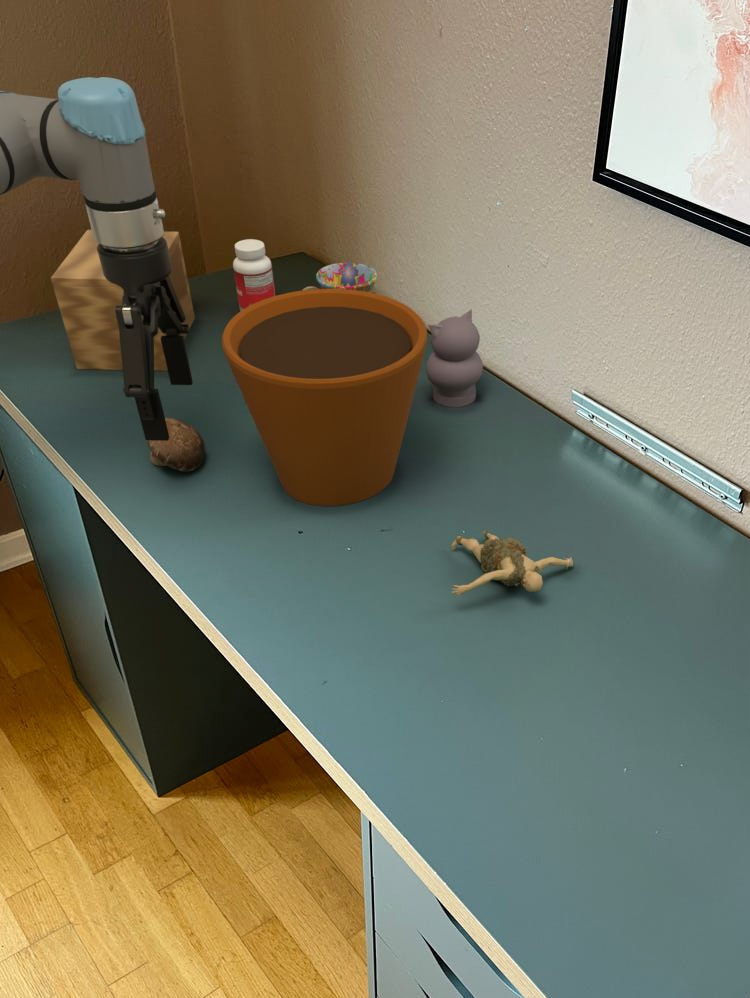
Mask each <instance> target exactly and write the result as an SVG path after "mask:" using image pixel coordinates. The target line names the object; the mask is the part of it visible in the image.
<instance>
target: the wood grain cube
mask: <svg viewBox="0 0 750 998" xmlns="http://www.w3.org/2000/svg"><path fill="white" fill-rule="evenodd" d="M162 237H163V238H164V239H165V240H166V241H167V246H168V251H169V256H170V261H171V265H172V270H171V273H170V274H169V278H170V280H171V283H172V285H173V288H174V290H175V292H176V295H177V297H178V300H179V302H180V305H181V307H182V309H183V312H184V315H185V318H186V319H185V322H184V323H182V324H188V326H189V330H190V329H191V327H192V325H193V323H194V321H195V319H196V316H195V311H194V305H193V300H192V296H191V289H190V284H189V280H188V273H187V268H186V264H185V263H186V262H185V258H184V252H183V247H182V242H181V237H180V233H179V231H165V230H164V234H163V235H162ZM98 245H99V243H97V242H96V241H95V240H94V238H93V233H92V229H87V230H86V231H85V232H84V234H83V235H82V236H81V238H80V239H79V240H78V242H77V243H76V244H75V245H74V247H73V248H72V249H71V251H70V252H69V253H68V254H67V256H66V257H65V258H64V260H63V261H62V262H61V264H60V265H59V266H58V268H57V269H56V270H55V272H54V273H53V274H52V275H51V276H50V280H51V284H52V287H53V291H54V294H55V295H54V296H55V298H56V302H57V305H58V309H59V312H60V316H61V318H62V323H63V325H64V329H65V332H66V336H67V339H68V343H69V346H70V351H71V354H72V356H73V360H74V364H75V367H76V370H103V371H105V370H106V371H111V370H112V371H123V367H122V357H121V346H120V336H119V327H118V322H117V317H116V313H115V307H116V305H122V297H123V289H122V288H121V287H120V286H118V285H116V284H113V283H111V282H109V281H108V280H107V279H106V278H105V276H104V274H103V270H102V266H101V263H100V259H99V255H98V251H97V246H98ZM174 313H176V312H174ZM180 335H181V336H183V337H184V341H186V339H187V336H188V334H180ZM161 336H167V335H166V334H163V333H162V331H161V330H160V329H159V327H158V334H157V335H155V336H154V372H155V371H157V372H168V369H167V365H166V360H165V356H164V352H163V347H162V343H161Z"/></svg>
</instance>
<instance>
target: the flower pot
mask: <svg viewBox="0 0 750 998" xmlns="http://www.w3.org/2000/svg"><path fill="white" fill-rule="evenodd" d="M302 290H303V289H302ZM302 290H298V291H297V290H296V291H290V292H286V293H281V294H278V295H275V296H274V297H270V298H267V299H264V300H262V301H259V302H257V303H254V304H252V305H250V306H249V307H247V308H245V309H243V310H242V311H240V310H239V312H238V313H236V314H235V315H234V316H233V317H232V318H231V319H230V320H229V321H228V323H227V324H226V326H225V327H224V329H223V332H222V336H221V345H222V351H223V353H224V356H225V358H226V361H227V363H228V365H229V368H230V369H231V372H232V374H233V376H234V379H235V381H236V384H237V386H238V388H239V390H240V392H241V395H242V397H243V399H244V402H245V404H246V406H247V409H248V411H249V413H250V415H251V418H252V420H253V421H254V424H255V427H256V429H257V432H258V434H259V436H260V438H261V440H262V442H263V445H264V447H265V449H266V452H267V454H268V457H269V459H270V461H271V464H272V466H273V467H274V470H275V473H276V475H277V477H278V479H279V481H280V484H281V486H282V488H283V490H284V491H285V493H286V495H288V496H290V497H291V498H292V499H294V500H296V501H298V502H301V503H304V504H307V505H313V506H319V507H337V506H338V507H340V506H346V505H351V504H355V503H359V502H362V501H365V500H367V499H370V498H372V497H373V496H376V495H377V494H379V493H380V492H382V491H383V490H385V489H386V488H387V487H388V485H389V484H390V483H391V482H392V480H393V478H394V474H395V471H396V470H395V469H396V467H397V462H398V458H399V456H400V455H399V454H400V451H401V447H402V443H403V438H404V434H405V431H406V427H407V423H408V419H409V415H410V411H411V408H412V403H413V399H414V395H415V391H416V387H417V384H418V379H419V375H420V372H421V367H422V363H423V360H424V355H425V351H426V347H427V343H428V331H427V326H426V325H425V322H424V321H423V319H422V318H421V317H420V315H419V314H418V313H417V312H416V311H414V310H413V309H412V308H411V307H410V306H408V305H406V304H405V303H402V302H401V301H399V300H397V299H394V298H391V297H388V296H386V295H382V294H378V293H373V292H372V293H370V292H364V291H357V290H348V289H321V288H319V289H313V290H303V291H302Z"/></svg>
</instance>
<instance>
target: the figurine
mask: <svg viewBox="0 0 750 998" xmlns="http://www.w3.org/2000/svg"><path fill="white" fill-rule="evenodd" d="M482 533H483V536H484V538H485V539H486V540H485V541H484V542H483V543H482V544H481V543H479V541H478V540H477V539H476V538H468V539H467V538H465V536H460V535H458V536H456V538H455V539H454V540H453V542H452V543H451V546H450V547H451V549H452V550H455V549H456V548H457V546H464V547H465V549H467V550H468V551H469V552H472V553H473V554H474V556H475V557H476V559H477V561H478V562H479V563H480V568H481V571H483V572H484V574H482V575H480V576H479V577H478V578H477V579H474V580H473V581H472V582H470V583H468V584H462V585H456V584H454V585H453V587H454V588H451V590H452V591H451V593H452V594H453V596H460V595H461V596H462V595H464V594H466V593H468V592H470V591H471V590H473V589H476V588H478V587H481V586H484V585H486V584H488V583H489V582H490V581H499V582H500V583H502V584H503V585H506V586H507V587H509V586H516V587H518V585H521V587H523V588H525V590H526V591H527V592H529V593H532V592H538V591H540V590H541V589H542V588H543V584H544V580H543V576H542V575H541V574H539V573H540V572H541V571H543V570H544V569H546V568H547V567H548V566H552V567H563V566H564V568H565V570H566V571H567V570H568V568H569V567H574V562H573V560H574V559H573V558H572V556H570V557H569V558H566V557H565V558H564V559H561V558H558V557H553V556H549V557H546V558H542V559H538V560H537V561H534V560H533V559H531V558H529V557H528V555H527V554H528V553H527V550H528V547H526V546H524V545H523V542H522V541H521V540H518V539H517V538H516V539H515V538H512V537H508V538H505V539H500V538H499V537H498V536H497V535H494V534H492V533H491V531H490V530H484V531H483V532H482Z"/></svg>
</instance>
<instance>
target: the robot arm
mask: <svg viewBox="0 0 750 998" xmlns="http://www.w3.org/2000/svg"><path fill="white" fill-rule="evenodd" d="M57 97H58V99H57V98H49V97H44V96H43V97H41V96H34V95H26V94H19V93H15V92H13V91H11V92H10V91H7V90H0V196H2V195H5V194H7V193H9V192H10V191H12V190H14V189H16V188H18V187H21V186H22V185H24V184H26V183H28V182H30V181H32V180H34V179H36V178H41V177H42V178H43V177H45V178H54V179H59V180H61V179H62V180H69V181H78V182H79V186H80V189H81V193H82V196H83V199H84V205H85V210H86V212H87V217H88V221H89V226H90V230H92V233H93V238H94V240H95V241H96V242H97V243H99V245H98V246H97V251H98V255H99V259H100V263H101V266H102V270H103V274H104V276H105V278H106V279H107V280H108V281H109V282H111V283H113V284H116V285H118V286H120V287H121V288H122V289H123V297H122V305H116V307H115V313H116V317H117V322H118V327H119V336H120V346H121V357H122V367H123V370H122V376H123V393H124V395H125V397H126V398H134V402H135V405H136V408H137V412H138V416H139V421H140V424H141V428H142V433H143V436H144V440H145V441H147V440H154V441H168V440H169V433H168V429H167V425H166V421H165V418H166V417H165V412H164V409H163V404H162V399H161V396H160V391H159V388H156V387H155V371H154V336H155V335H157V334H158V327H159V329H160V330H161V331H162V333H163V334H166V335H167V336H161V343H162V347H163V352H164V356H165V360H166V365H167V369H168V371H167V373H168V379H169V382H170V386H192V385H193V384H194V381H193V377H192V371H191V367H190V366H191V365H190V363H189V357H188V352H187V348H186V342H185V340H184V337H183V336H181V335H180V334H187V335H189V334H190V329H189V326H188V324H182V323H184V322H185V319H186V318H185V315H184V312H183V309H182V307H181V305H180V302H179V300H178V297H177V295H176V292H175V290H174V288H173V285H172V283H171V280H170V278H169V274H170V273H171V270H172V265H171V261H170V256H169V251H168V246H167V241H166V240H165V239H164V238H163V237H162V235H163V234H164V231H165V230H164V224H163V220H162V219H165V218H166V212H165V210H164V208H160V206H159V201H158V197H157V192H156V187H155V183H154V178H153V173H152V168H151V164H150V163H151V162H150V156H149V151H148V145H147V140H146V128H145V125H144V123H143V121H142V117H141V114H140V109H139V106H138V102H137V99H136V95H135V92H134V90H133V89H132V87H131V86H130V85H129V84H128V83H127V82H125V81H124V80H121V79H118V78H115V77H114V78H113V77H106V76H100V77H92V76H91V77H89V76H88V77H82V78H81V77H80V78H74V79H71V80H69V81H66V82H64V83H62V84H61V85H60V86H59V87H58V90H57ZM174 312H176V313H174Z"/></svg>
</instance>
